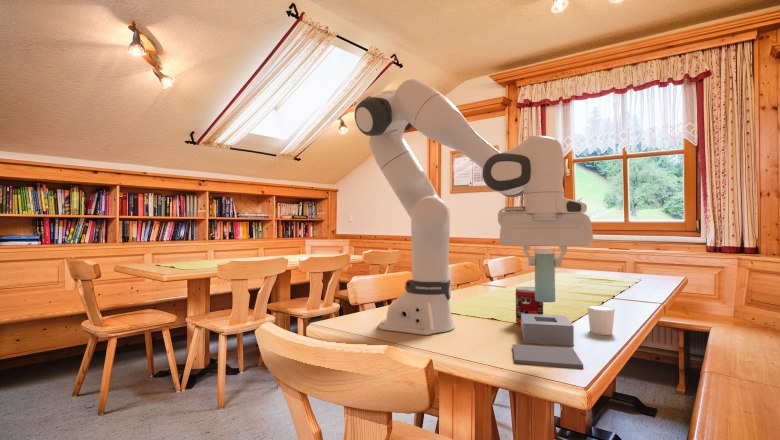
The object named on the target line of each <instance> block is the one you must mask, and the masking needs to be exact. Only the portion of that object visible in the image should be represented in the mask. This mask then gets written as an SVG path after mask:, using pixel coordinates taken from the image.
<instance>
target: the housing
mask: <svg viewBox="0 0 780 440" xmlns="http://www.w3.org/2000/svg"><path fill="white" fill-rule="evenodd" d="M520 332H521V336H522V340H523V341H522V342H523V343H525V344H538V345H539V344H540V345H555V346H569V347H571V346H572V347H574V345H575V344H574V341H575V339H574V335H575V333H574V325H573V324H572V322H571V321H570V320H569V318H568V317H567V316H566V315H559V314H558V315H557V314H543V315H541V314H521V325H520Z"/></svg>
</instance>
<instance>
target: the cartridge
mask: <svg viewBox="0 0 780 440" xmlns="http://www.w3.org/2000/svg"><path fill="white" fill-rule="evenodd" d="M555 252H556V251H555V248H545V247H543V248H542V247H540V248H538V247H537V248H534V258H535V266H534V287H535V301H538V302H543V303H555V302H556V266H555V258H556V255H555Z"/></svg>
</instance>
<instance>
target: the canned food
mask: <svg viewBox="0 0 780 440" xmlns="http://www.w3.org/2000/svg"><path fill="white" fill-rule="evenodd" d="M521 314H541V315H544V302H538V301H535V286H517V287H515V322H516V324H517V325H518V326H521Z"/></svg>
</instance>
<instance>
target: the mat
mask: <svg viewBox="0 0 780 440" xmlns="http://www.w3.org/2000/svg"><path fill="white" fill-rule="evenodd" d="M512 353H513V360H514V364H519V365H520V364H521V365H532V366H533V365H534V366H544V367H546V366H547V367H560V368H569V369H570V368H571V369H582V370H583V369H584V363H583V362H582V360H581V359H580V357H579V356H578V354H577V352H576V350H575V349H574V348H572V347H562V346H561V347H559V346H558V347H557V346H547V345H546V346H545V345H543V346H542V345H530V344H516V343H515V344H514V343H512Z"/></svg>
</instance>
